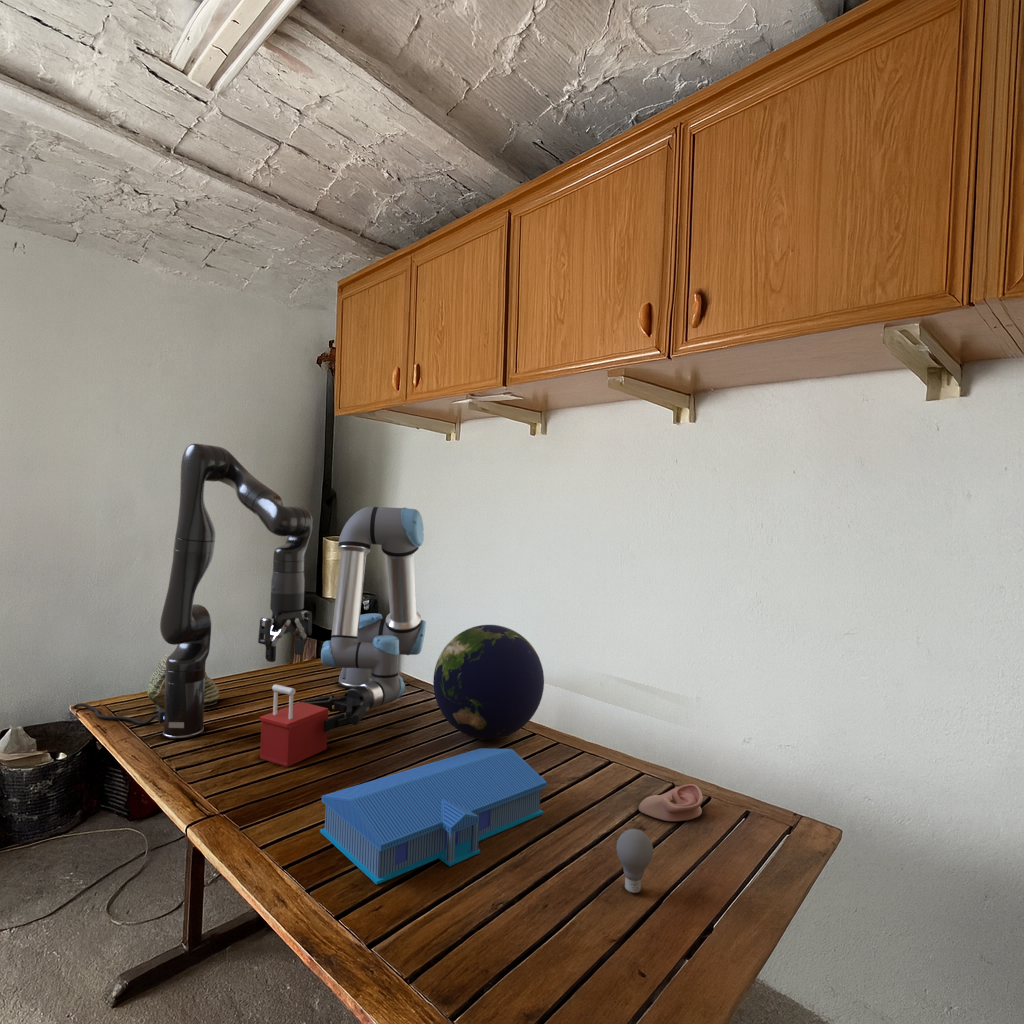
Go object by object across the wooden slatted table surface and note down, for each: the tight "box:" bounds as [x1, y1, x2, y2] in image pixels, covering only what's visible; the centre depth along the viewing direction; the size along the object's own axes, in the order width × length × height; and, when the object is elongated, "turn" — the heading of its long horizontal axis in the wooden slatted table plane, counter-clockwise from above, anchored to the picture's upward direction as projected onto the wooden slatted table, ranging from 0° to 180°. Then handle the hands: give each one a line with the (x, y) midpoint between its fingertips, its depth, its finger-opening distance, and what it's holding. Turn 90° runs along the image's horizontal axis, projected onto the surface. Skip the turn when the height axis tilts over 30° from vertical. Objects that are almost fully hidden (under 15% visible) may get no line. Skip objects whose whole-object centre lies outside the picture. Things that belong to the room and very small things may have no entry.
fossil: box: [147, 654, 221, 711], centre depth 185 cm, size 9×18×15 cm, turn 132°
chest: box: [259, 711, 329, 768], centre depth 155 cm, size 13×9×9 cm
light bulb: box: [615, 828, 654, 894], centre depth 106 cm, size 6×6×10 cm
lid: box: [259, 683, 329, 728], centre depth 155 cm, size 13×9×8 cm
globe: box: [432, 624, 545, 740], centre depth 172 cm, size 30×30×30 cm
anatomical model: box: [638, 783, 704, 822], centre depth 135 cm, size 13×4×12 cm
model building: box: [319, 747, 548, 885], centre depth 124 cm, size 39×24×10 cm, turn 132°
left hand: (285, 657), depth 151 cm, fingers open, 8 cm apart
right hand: (305, 721), depth 158 cm, fingers open, 12 cm apart
